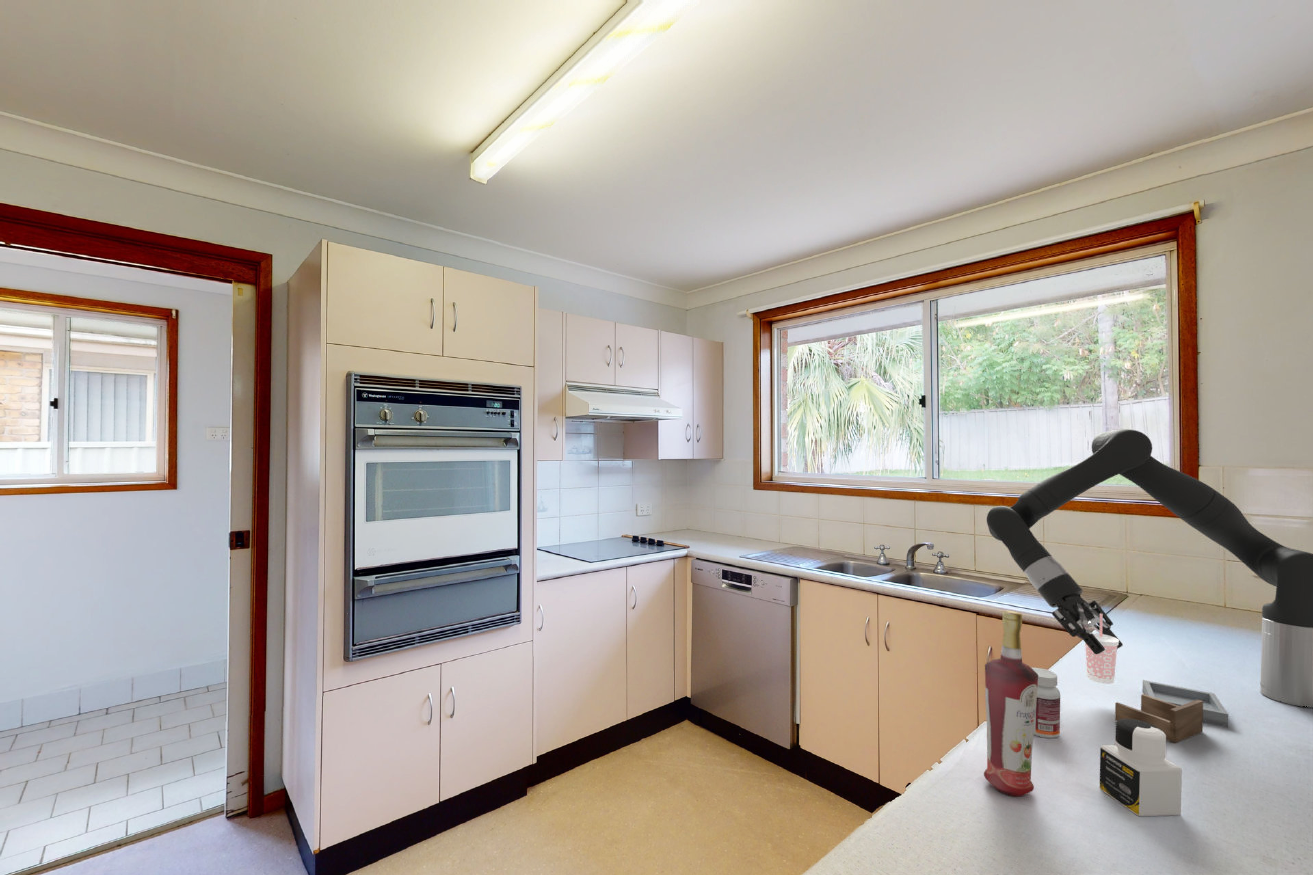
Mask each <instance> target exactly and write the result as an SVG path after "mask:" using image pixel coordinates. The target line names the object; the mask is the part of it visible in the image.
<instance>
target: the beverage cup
mask: <svg viewBox="0 0 1313 875" xmlns="http://www.w3.org/2000/svg"><path fill="white" fill-rule="evenodd" d="M1102 620H1104V619H1103V614H1100V633H1099V632H1091V633H1092V634H1093V635H1094V636H1095V637H1096V638H1097V640H1098V641H1099V642H1100V643H1101V644H1102V646H1103V647H1104V648H1105V650H1104V651H1103V652H1101V653H1100V654H1094V652H1093V651H1092V650H1091V649H1090V648H1089V646H1088V645H1087V644H1086V643H1085V642H1084V644H1085V647H1084V649H1085V661H1086V663H1085V664H1086V675H1087V676H1086V677H1087V679H1089V680H1091V681H1093V682H1096V683H1098V684H1104V685H1105V684H1106V685H1107V684H1108V685H1110V684H1111V685H1112V684H1114V683H1115V675H1116V663H1117V662H1116V661H1117V653H1118V652H1117V651H1118V649H1117V645H1119V640H1120V639H1119V638H1118V637H1117V638H1118V639H1119V640H1118V639H1117V638H1115V637H1112V636H1109V635H1105V634H1102ZM1091 633H1090V634H1091Z"/></svg>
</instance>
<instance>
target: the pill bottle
mask: <svg viewBox="0 0 1313 875" xmlns="http://www.w3.org/2000/svg"><path fill="white" fill-rule="evenodd" d="M1031 668H1032V669H1033V670H1034V671H1035V672H1036V673H1037V674H1038V685H1037V700H1036V713H1035V723H1034V733H1033V736H1037V737H1039V736H1040V738H1045V739H1053V738H1058V737H1059V736H1060V733H1061V692H1060V689H1059V688H1058V687H1057V686H1058V675H1057V673H1055V672H1053V671H1051V670H1049V669H1045V668H1041V667H1031Z"/></svg>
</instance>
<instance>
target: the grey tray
mask: <svg viewBox="0 0 1313 875" xmlns="http://www.w3.org/2000/svg"><path fill="white" fill-rule="evenodd" d="M1141 690H1142V694H1145V695H1148V696H1151V697H1154V698H1157V699H1160V700H1163V701H1165V702H1168V703H1171V704H1174V705H1177V706H1181V705H1184V704H1187V703H1190V702H1192V701H1195V700H1201V701H1203V723H1208V724H1212V725H1217V726H1222V727H1227V728H1228V727H1229V712H1227V710H1226V709H1225V707H1224V706H1223V704H1222V703H1221V701H1220V700H1219V698H1218V697H1217V695H1216V694H1215V693H1213V692H1207V691H1204V690H1198V689H1192V688H1187V687H1182V686H1176V685H1171V684H1165V683H1160V682H1156V681H1150V680H1145V679H1142V689H1141Z"/></svg>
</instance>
